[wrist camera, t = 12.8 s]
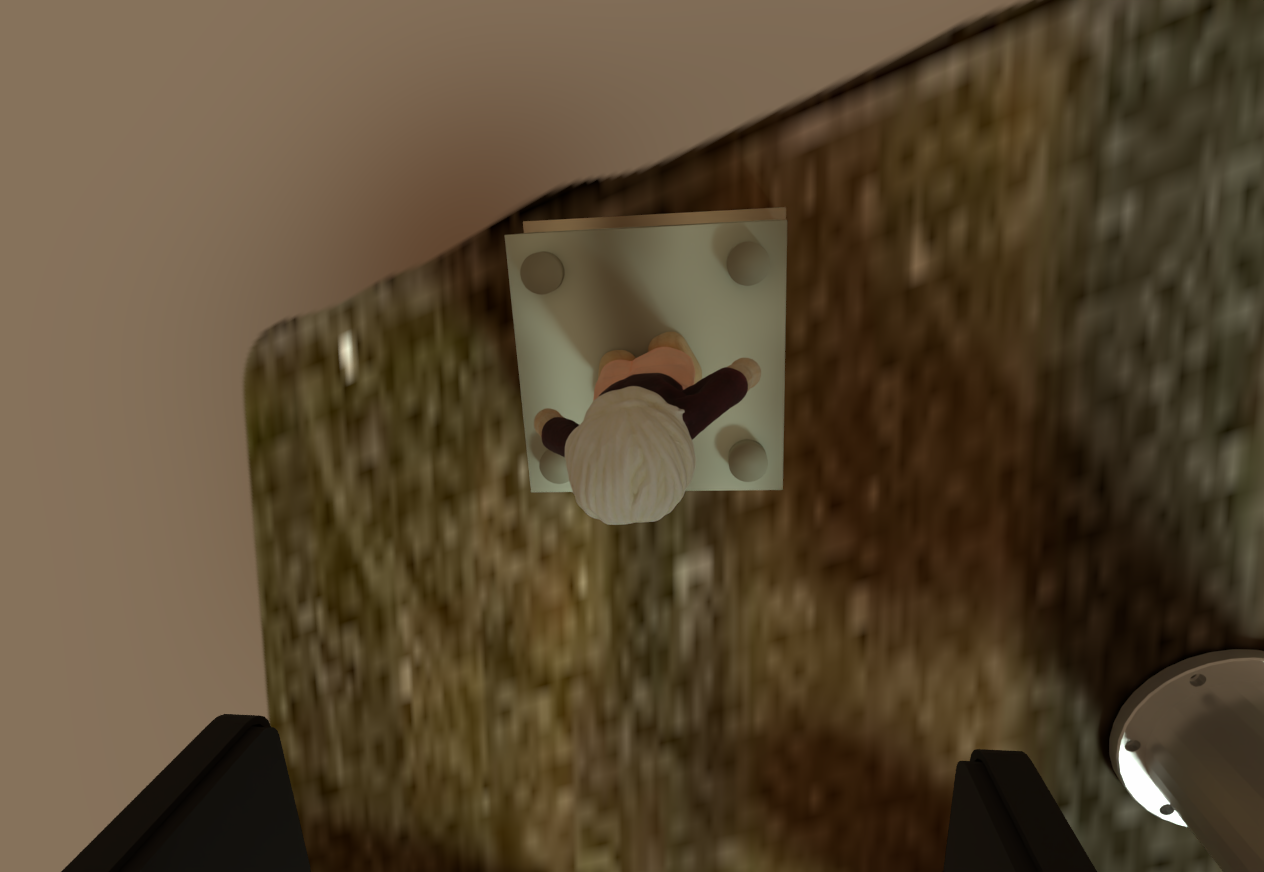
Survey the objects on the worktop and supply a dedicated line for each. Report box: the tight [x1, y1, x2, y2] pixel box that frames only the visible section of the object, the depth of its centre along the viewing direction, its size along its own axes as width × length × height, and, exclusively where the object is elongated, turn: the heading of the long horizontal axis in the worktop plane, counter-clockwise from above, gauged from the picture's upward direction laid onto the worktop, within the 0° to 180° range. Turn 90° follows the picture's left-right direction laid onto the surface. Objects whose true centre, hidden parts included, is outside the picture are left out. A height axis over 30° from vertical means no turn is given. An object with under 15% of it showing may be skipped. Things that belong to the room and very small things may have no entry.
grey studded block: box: [505, 207, 787, 492], centre depth 32 cm, size 12×12×11 cm
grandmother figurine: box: [534, 332, 761, 525], centre depth 22 cm, size 8×4×13 cm, turn 118°
